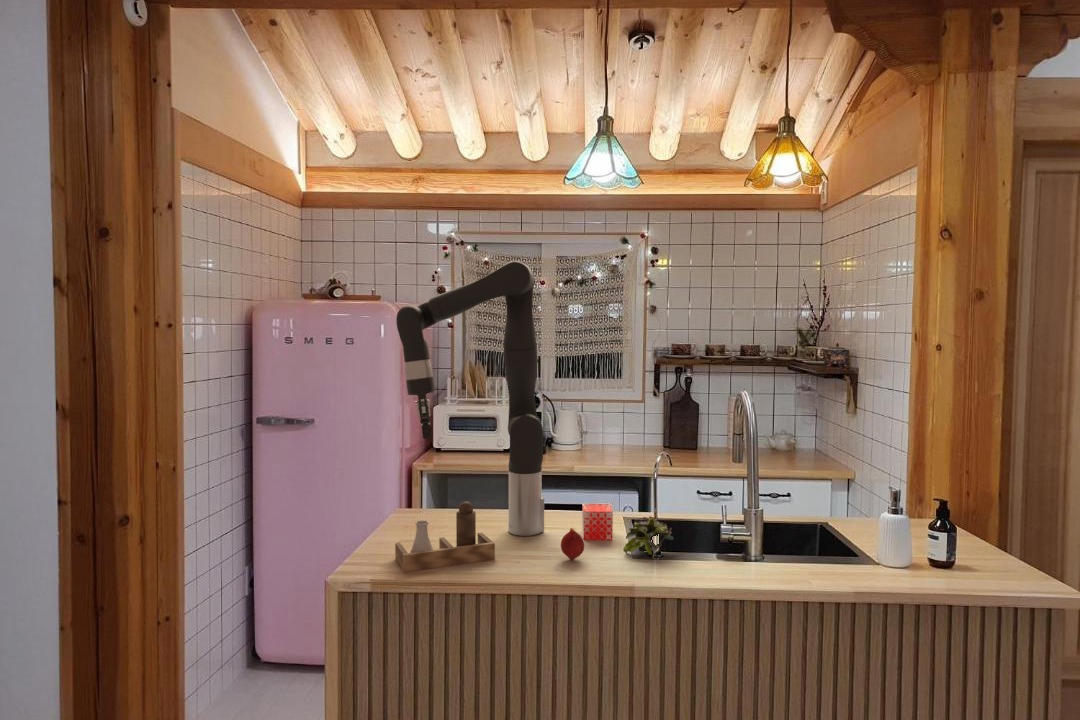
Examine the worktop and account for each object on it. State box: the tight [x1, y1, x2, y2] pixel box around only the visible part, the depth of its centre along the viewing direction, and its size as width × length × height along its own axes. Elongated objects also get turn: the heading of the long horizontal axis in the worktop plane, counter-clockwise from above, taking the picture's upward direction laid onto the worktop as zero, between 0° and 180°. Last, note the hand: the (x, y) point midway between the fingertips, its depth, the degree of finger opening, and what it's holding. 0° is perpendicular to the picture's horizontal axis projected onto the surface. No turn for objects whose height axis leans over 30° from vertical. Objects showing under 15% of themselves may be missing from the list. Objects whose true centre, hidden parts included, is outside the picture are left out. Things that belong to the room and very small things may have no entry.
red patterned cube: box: [581, 503, 614, 541], centre depth 192 cm, size 8×8×8 cm
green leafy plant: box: [623, 515, 674, 560], centre depth 177 cm, size 11×11×12 cm
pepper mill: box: [455, 500, 477, 547], centre depth 175 cm, size 5×5×14 cm
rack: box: [394, 532, 496, 573], centre depth 173 cm, size 23×10×4 cm, turn 114°
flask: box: [409, 520, 434, 553], centre depth 170 cm, size 7×7×10 cm
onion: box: [560, 527, 585, 561], centre depth 172 cm, size 6×6×8 cm
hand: (427, 438), depth 195 cm, fingers closed
